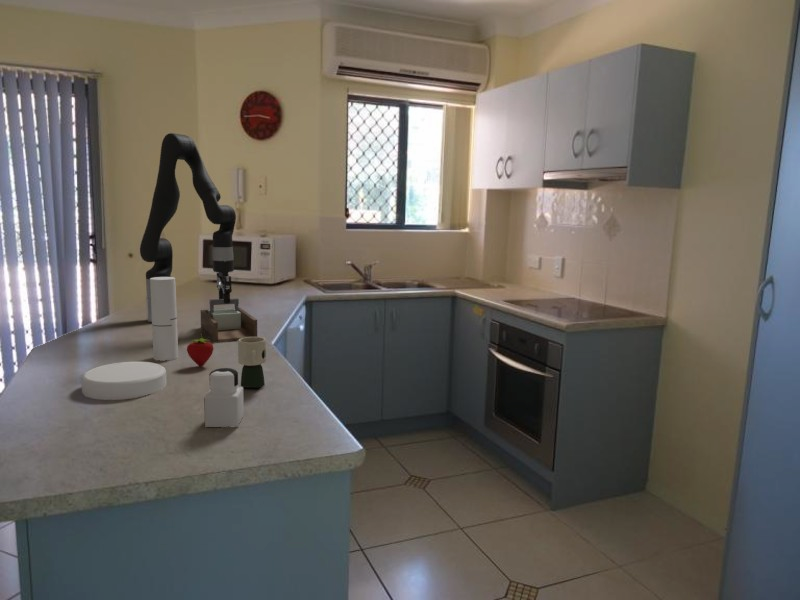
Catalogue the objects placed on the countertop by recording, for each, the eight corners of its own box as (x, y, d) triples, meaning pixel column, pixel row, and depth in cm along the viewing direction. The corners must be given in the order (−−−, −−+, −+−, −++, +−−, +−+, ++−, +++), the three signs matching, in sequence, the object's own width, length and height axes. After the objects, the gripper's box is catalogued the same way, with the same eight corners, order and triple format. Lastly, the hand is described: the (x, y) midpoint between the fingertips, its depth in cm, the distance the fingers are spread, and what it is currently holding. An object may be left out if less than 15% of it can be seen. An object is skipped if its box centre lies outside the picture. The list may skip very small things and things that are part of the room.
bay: (214, 342, 199) (214, 323, 197) (201, 327, 221) (200, 310, 220) (257, 338, 206) (257, 319, 205) (240, 324, 228) (239, 307, 227)
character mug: (268, 392, 149) (267, 343, 147) (239, 394, 146) (239, 345, 144) (264, 379, 159) (264, 334, 157) (238, 381, 157) (237, 335, 155)
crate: (213, 330, 212) (212, 302, 210) (208, 325, 220) (207, 298, 218) (241, 328, 217) (241, 300, 215) (235, 323, 225) (234, 296, 223)
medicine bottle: (212, 416, 131) (211, 365, 129) (244, 416, 132) (243, 365, 130) (204, 428, 124) (203, 375, 122) (237, 427, 125) (237, 375, 123)
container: (108, 375, 160) (107, 359, 159) (179, 378, 159) (178, 362, 158) (64, 399, 140) (63, 381, 139) (145, 402, 139) (144, 384, 139)
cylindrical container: (183, 356, 180) (180, 278, 176) (165, 361, 173) (162, 280, 169) (166, 353, 183) (163, 276, 179) (148, 358, 176) (144, 278, 172)
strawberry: (187, 364, 171) (186, 332, 170) (213, 362, 174) (212, 330, 172) (187, 370, 166) (186, 336, 164) (214, 368, 168) (213, 335, 167)
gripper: (209, 257, 218) (210, 299, 221) (216, 260, 206) (218, 305, 209) (229, 257, 222) (230, 298, 225) (237, 260, 210) (238, 303, 212)
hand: (224, 301), depth 217 cm, fingers open, 8 cm apart
